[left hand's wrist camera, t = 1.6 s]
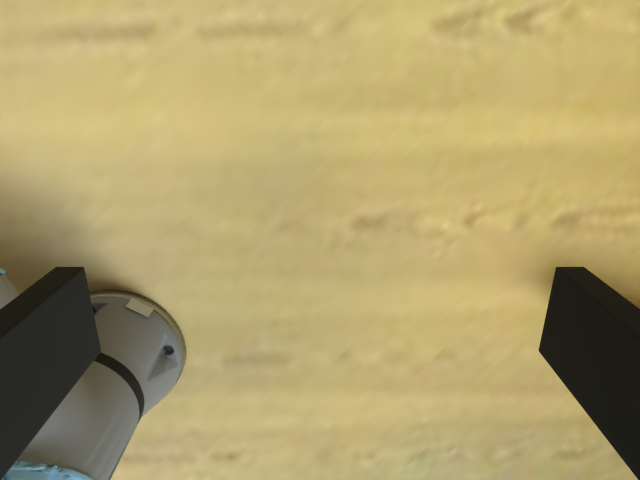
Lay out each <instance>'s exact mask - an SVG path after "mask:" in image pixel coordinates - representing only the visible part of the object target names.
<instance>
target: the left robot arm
mask: <svg viewBox="0 0 640 480" xmlns="http://www.w3.org/2000/svg"><path fill="white" fill-rule="evenodd" d="M5 274H6V271H5V270H4V269H3V268H1V267H0V480H110V479H111V477H112V475H113V473H114V471H115V469H116V467H117V465H118V463H119V461H120V459H121V457H122V455H123V453H124V451H125V449H126V447H127V445H128V443H129V441H130V439H131V437H132V435H133V433H134V431H135V429H136V427H137V424H138V423H139V421H140V419H141V417H142V416H143V415H144V414H146V413H147V412H148V411H149V410H150V409H151V408H152V407H154V406H155V405H156V404H157V403H158V402H159V401H160V400H162V399H163V398H164V397H165V396H166V395H167V394H168V393H169V392H170V391H171V389H172V388H173V387H174V385H175V384H176V382H177V381H178V379H179V377H180V374H181V372H182V370H183V368H184V364H185V359H186V347H185V342H184V339H183V336H182V333H181V331H180V329H179V327H178V326H177V324H176V323H175V321H174V320H173V319H172V318H171V317H170V315H169V314H168V313H167V312H166V311H164V310H163V309H162V308H161V307H159V306H158V305H157V304H155V303H153V302H152V301H150V300H148V299H146V298H144V297H142V296H139V295H136V294H133V293H130V292H125V291H118V290H103V291H96V292H92V293H89V289H88V285H87V280H86V275H85V270H84V267H56V268H54V269H53V270H52V271H50V272H49V273H48V274H46V275H45V276H44V277H42V278H41V279H40V280H38V281H37V282H36V283H34V284H33V285H32V286H30V287H29V288H28V289H27V290H25V291H24V292H23V293H21V294H19V293H18V292H17V290H16V289H15V287H14V286H13V285H12V283H11V282H10V281H9V279H8V278H7V277H6V275H5ZM539 352H540V353H541V354H542V356H543V357H544V358H545V360H546V361H547V362H548V363H549V365H550V366H551V367H552V369H553V370H554V371H555V373H556V374H557V375H558V376H559V378H560V379H561V380H562V382H563V383H564V384H565V385H566V387H567V388H568V389H569V391H570V392H571V393H572V394H573V396H574V397H575V398H576V400H577V401H578V402H579V404H580V405H581V406H582V407H583V409H584V410H585V411H586V413H587V414H588V415H589V416H590V418H591V419H592V420H593V422H594V423H595V424H596V425H597V427H598V428H599V429H600V431H601V432H602V433H603V435H604V436H605V437H606V438H607V440H608V441H609V442H610V444H611V445H612V446H613V447H614V449H615V450H616V451H617V453H618V454H619V455H620V457H621V458H622V459H623V460H624V462H625V463H626V464H627V466H628V467H629V468H630V469H631V471H632V472H633V473H634V475H635V476H636V477H637V478H638V480H640V309H639V308H637V307H636V306H635V305H633V304H632V303H631V302H629V301H628V300H627V299H625V298H624V297H623V296H621V295H620V294H619V293H617V292H616V291H615V290H613V289H612V288H611V287H610V286H608V285H607V284H606V283H604V282H603V281H602V280H600V279H599V278H598V277H596V276H595V275H594V274H592V273H591V272H590V271H588V270H587V269H586V268H584V267H556V270H555V275H554V280H553V285H552V289H551V294H550V299H549V304H548V308H547V313H546V318H545V323H544V328H543V332H542V337H541V342H540V347H539Z"/></svg>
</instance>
